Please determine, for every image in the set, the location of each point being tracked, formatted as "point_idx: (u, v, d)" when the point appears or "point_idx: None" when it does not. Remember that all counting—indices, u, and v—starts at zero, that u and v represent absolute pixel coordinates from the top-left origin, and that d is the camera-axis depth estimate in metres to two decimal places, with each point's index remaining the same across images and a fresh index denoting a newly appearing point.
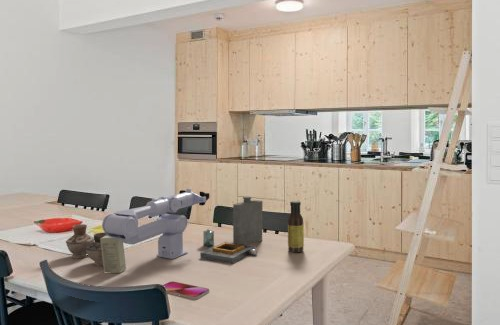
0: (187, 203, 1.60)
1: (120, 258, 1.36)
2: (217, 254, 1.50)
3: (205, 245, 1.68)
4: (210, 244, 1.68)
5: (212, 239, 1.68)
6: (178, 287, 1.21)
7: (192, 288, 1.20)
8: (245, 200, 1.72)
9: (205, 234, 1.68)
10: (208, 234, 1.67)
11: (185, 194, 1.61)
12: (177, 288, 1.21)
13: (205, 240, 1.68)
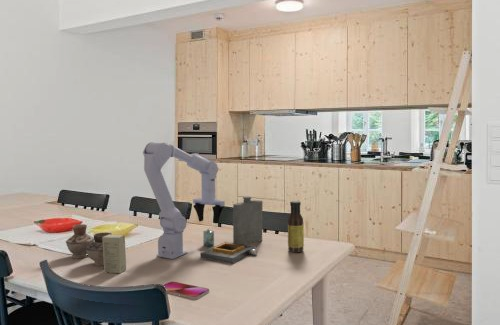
0: (212, 190, 1.66)
1: (121, 259, 1.36)
2: (217, 254, 1.50)
3: (205, 245, 1.68)
4: (210, 244, 1.68)
5: (212, 239, 1.68)
6: (178, 287, 1.21)
7: (192, 288, 1.20)
8: (245, 200, 1.72)
9: (205, 234, 1.68)
10: (208, 234, 1.67)
11: None
12: (177, 288, 1.21)
13: (205, 240, 1.68)
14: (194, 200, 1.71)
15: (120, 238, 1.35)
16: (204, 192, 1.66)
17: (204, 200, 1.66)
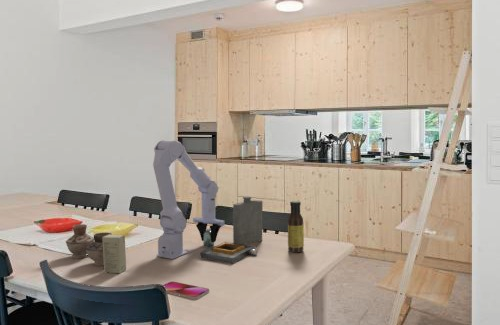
0: (212, 210, 1.67)
1: (121, 259, 1.36)
2: (217, 254, 1.50)
3: (205, 245, 1.68)
4: (210, 244, 1.68)
5: None
6: (178, 287, 1.21)
7: (192, 288, 1.20)
8: (245, 200, 1.72)
9: (205, 234, 1.68)
10: (208, 234, 1.67)
11: None
12: (177, 288, 1.21)
13: (205, 240, 1.68)
14: (194, 219, 1.71)
15: (120, 238, 1.35)
16: (204, 212, 1.66)
17: (204, 220, 1.66)
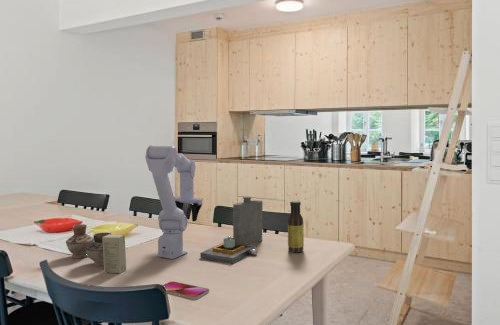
0: (190, 189, 1.68)
1: (121, 259, 1.36)
2: (217, 254, 1.50)
3: None
4: None
5: (233, 247, 1.56)
6: (178, 287, 1.21)
7: (192, 288, 1.20)
8: (245, 200, 1.72)
9: (226, 242, 1.55)
10: (229, 242, 1.55)
11: None
12: (177, 288, 1.21)
13: (226, 248, 1.55)
14: None
15: (120, 238, 1.35)
16: (182, 191, 1.67)
17: (182, 198, 1.68)
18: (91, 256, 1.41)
